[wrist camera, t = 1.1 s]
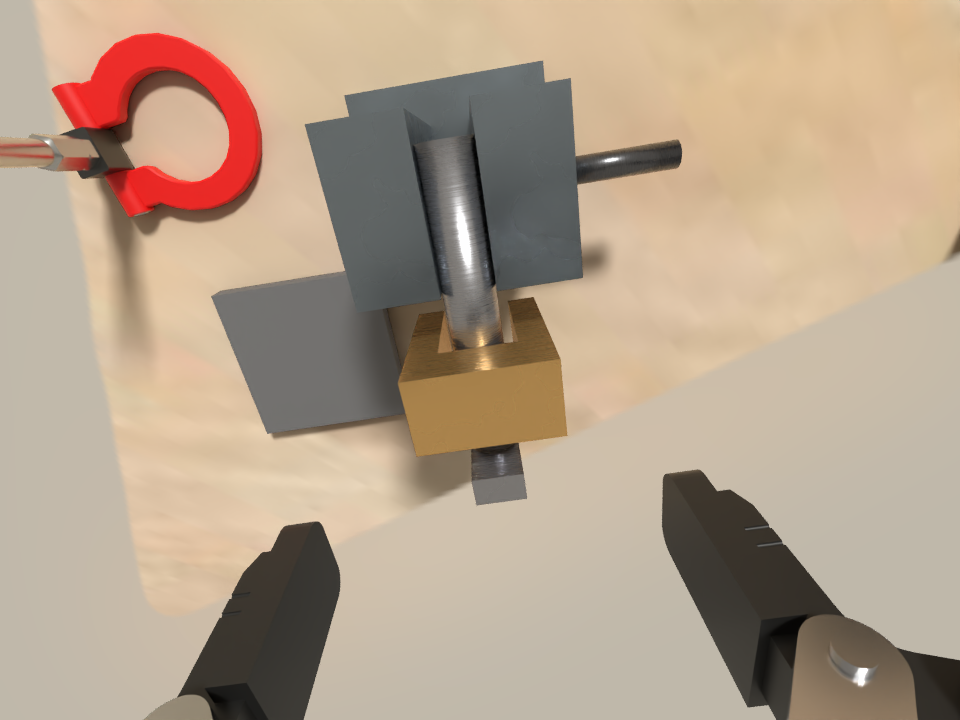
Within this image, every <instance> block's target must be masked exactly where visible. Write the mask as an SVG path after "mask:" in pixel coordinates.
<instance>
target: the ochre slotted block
mask: <svg viewBox="0 0 960 720" xmlns="http://www.w3.org/2000/svg"><path fill="white" fill-rule="evenodd" d="M508 306H509V314H510V321H511V329H512V336H513V342H511V343H504V344H498V345H491V346H484V347H478V348H471V349H464V350H457V351H452V348H451V343H450V337H449V332H448V327H447V322H446V317H445V312H444V311H440V312H433V313H426V314H420V315H419V317H418V320H417V323H416V326H415V329H414V333H413V336H412V339H411V342H410V346H409V349H408V352H407V355H406V358H405V362H404V365H403V368H402V371H401V374H400V378H399V381H398V386H399V390H400V394H401V397H402V401H403V405H404V409H405V413H406V417H407V421H408V425H409V429H410V433H411V436H412V440H413V444H414V448H415V452H416V456H417V457H418V456H425V455H433V454H440V453H447V452H454V451H461V450H469V449H476V448H483V447H490V446H497V445H504V444H512V443H519V442H526V441H533V440H540V439H548V438H555V437H562V436H567V427H566V416H565V405H564V393H563V382H562V371H561V359H560V357H559V355H558V352H557V350H556V348H555V345H554V343H553V341H552V339H551V336H550V334H549V332H548V329H547V327H546V325H545V322H544V320H543V318H542V316H541V313H540V311H539V309H538V306H537V304H536V302H535V300H534V297H531V298H524V299H518V300H511V301H508Z"/></svg>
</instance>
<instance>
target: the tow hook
mask: <svg viewBox="0 0 960 720" xmlns="http://www.w3.org/2000/svg"><path fill="white" fill-rule="evenodd" d="M166 70H173V71H177V72H182V73H184V74H186V75H188V76H190V77H192V78H194V79H195V80H197V81H198V82H199V83H200V84H202V85H203V86H204V87H205V88H207V90H208V91H209V92H210V93H211V94H212V96H213V97H214V98H215V99H216V101H217V102H218V104H219V106H220V108H221V109H222V111H223V113H224V115H225V118H226V122H227V125H228V129H229V149H228V153H227V157H226V159H225V161H224V163H223V164H222V166H221V168H220V169H219V170H218V171H217V172H216V173H214V174H213V175H212V176H211V177H209V178H206V179H204V180H201V181H197V182H189V181H184V180H178V179H176V178H174V177H171V176H169V175H167V174H165V173H163V172H162V171H160V170H159V169H158V168H156V167H153V166H142V167H139V168H136V169H134V168H133V166H132V164H131V162H130V160H129V159H128V157H127V155H126V153H125V152H124V150H123V148H122V146H121V145H120V143H119V141H118V140H117V138H116V136H115V134H114V133H113V131H112V130H110V129H108V128H110V127H113V126H116V125H119V124H121V123H124V122H126V120H127V118H128V114H127V108H128V102H129V97H130V95H131V93H132V91H133V89H134V87H135V85H136V84H137V83H138V82H139V81H140V80H141V79H143V78H144V77H145V76H147V75H149V74H152V73H154V72H156V71H166ZM52 91H53V93H54V95H55V96H56V98H57V99H58V101H59V103H60V104H61V106H62V108H63V109H64V111H65V113H66V114H67V116H68V118H69V119H70V121H71V123H72V124H73V126H74V128H75V129H74V130H71V131H69V132H66V133H63V134H60V135H47V134H31V135H30V136H29V137H28V138H11V137H10V138H9V137H0V168H22V167H38V168H41V169H46V170H50V171H77V172H78V173H79V175H80V177H81V178H82V179H89V178H105V179H106V180H107V182H108V184H109V185H110V187H111V189H112V190H113V192H114V194H115V195H116V197H117V199H118V200H119V202H120V204H121V205H122V207H123V208H124V210H125V212H126V213H127V215H128V217H137V216H141V215H144V214H147V213H150V212H151V211H153V210H155V208H154V207H153V206H155V205H158V204H161V203H163V204H165V205H168V206H170V207H175V208H180V209H186V210H202V209H212V208H216V207H219V206H221V205H224V204H226V203H229V202H231V201H233V200H234V199H236V198H237V197H238V196H239V195H241V194H242V193H243V192H244V191H245V190H247V188H248V187H249V185H250V183H251V182H252V180H253V179H254V177H255V175H256V174H257V170H258V167H259V163H260V159H261V156H262V133H261V129H260V125H259V120H258V116H257V112H256V109H255V107H254V105H253V103H252V101H251V99H250V97H249V95H248V93H247V91H246V89H245V88H244V86H243V85H242V84H241V83H240V81H239V80H238V79H237V77H236V76H235V75H234V74H233V72H232V71H231V70H230V69H229V68H228V67H227V66H226V65H225V64H223V63H222V62H221V61H220V60H219V59H217V58H216V57H215V56H214V55H212V54H211V53H210V52H208V51H206V50H204V49H202V48H200V47H198V46H196V45H194V44H192V43H190V42H188V41H186V40H184V39H182V38H178V37H173V36H169V35H164V34H160V33H152V34H139V35H133V36H131V37H129V38H127V39H124V40H122V41H120V42H117V43H115V44H114V45H113V46H112V47H111V48H110V49H109V50H108V51H107V52H106V53H105V54H104V55H103V56H102V57H101V58H100V60H99V62H98V64H97V66H96V68H95V70H94V73H93V75H92V77H91V80H90V81H87V82H84V83H82V84H81V83H65V84H61V85H58V86H55V87H54V88H52ZM133 169H134V170H133Z"/></svg>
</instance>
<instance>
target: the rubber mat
mask: <svg viewBox="0 0 960 720" xmlns="http://www.w3.org/2000/svg"><path fill="white" fill-rule="evenodd" d="M211 297H212V299H213V302H214V304H215V307H216V309H217V312H218V314H219V316H220V319H221V321H222V324H223V326H224V329H225V331H226V334H227V336H228V338H229V341H230V343H231V346H232V348H233V351H234V353H235V356H236V358H237V360H238V363H239V365H240V368H241V370H242V373H243V375H244V378H245V380H246V382H247V385H248V387H249V390H250V392H251V395H252V397H253V400H254V402H255V404H256V407H257V409H258V412H259V414H260V417H261V419H262V422H263V424H264V426H265V429H266V431H267V434H269V433H276V432H283V431H290V430H296V429H303V428H310V427H317V426H324V425H331V424H338V423H345V422H352V421H359V420H365V419H372V418H379V417H386V416H393V415H400V414H406V413H405V409H404V405H403V401H402V397H401V394H400V390H399V386H398V381H399V378H400V374H401V371H402V368H401V364H400V360H399V356H398V352H397V348H396V344H395V340H394V336H393V332H392V328H391V324H390V320H389V316H388V312H387V308H385V309H378V310H372V311H365V312H359V313H357V311H356V307H355V304H354V300H353V296H352V293H351V289H350V286H349V282H348V278H347V275H346V271H343V272H337V273H331V274H324V275H318V276H312V277H306V278H299V279H293V280H287V281H280V282H274V283H268V284H262V285H255V286H249V287H243V288H237V289H230V290H224V291H220V292H218V293H216V294H215V295H213V296H211Z"/></svg>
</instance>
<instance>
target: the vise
mask: <svg viewBox="0 0 960 720" xmlns="http://www.w3.org/2000/svg"><path fill="white" fill-rule="evenodd" d="M345 100H346V104H347V108H348V113H349V117H345V118H339V119H333V120H328V121H322V122H316V123H310V124H305V127H306V131H307V134H308V138H309V141H310V145H311V149H312V152H313V156H314V159H315V163H316V167H317V170H318V174H319V178H320V181H321V185H322V188H323V192H324V196H325V199H326V203H327V206H328V210H329V214H330V217H331V221H332V224H333V228H334V232H335V235H336V239H337V242H338V246H339V250H340V253H341V257H342V260H343V264H344V268H345V271H346V275H347V278H348V282H349V286H350V289H351V293H352V296H353V300H354V304H355V307H356V311H357V313H359V312H365V311H372V310H378V309H385V308H391V307H398V306H404V305H411V304H417V303H423V302H430V301H436V300H441V295H443V300H444V305H445V310H446V315H447V320H448V326H449V331H450V336H451V341H452V346H453V351H457V350H464V349H471V348H478V347H484V346H491V345H498V344H504V339H503V332H502V325H501V318H500V311H499V304H498V297H497V291H501V290H507V289H514V288H520V287H527V286H533V285H539V284H546V283H552V282H559V281H565V280H572V279H578V278H583V271H582V255H581V239H580V223H579V206H578V190H577V185H578V184H584V183H590V182H596V181H602V180H609V179H615V178H621V177H627V176H633V175H639V174H645V173H651V172H657V171H663V170H670V169H676V168H678V167H679V165H680V163H681V158H682V148H681V144H680V142H679V141H678V140H672V141H666V142H660V143H654V144H648V145H642V146H636V147H630V148H624V149H618V150H612V151H606V152H600V153H594V154H588V155H582V156H576V157H575V141H574V125H573V109H572V93H571V78H569V79H563V80H558V81H552V82H546V83H545V81H544V68H543V61H538V62H532V63H527V64H521V65H515V66H510V67H504V68H498V69H493V70H487V71H481V72H475V73H470V74H464V75H458V76H453V77H447V78H441V79H436V80H430V81H424V82H419V83H413V84H407V85H402V86H396V87H390V88H385V89H379V90H373V91H367V92H362V93H356V94H350V95H345ZM496 288H497V290H496ZM471 457H472V485H473V490H474V495H475V500H476V504H477V505H482V504H489V503H498V502H505V501H512V500H519V499H527V494H526V487H525V480H524V473H523V467H522V461H521V455H520V449H519V443H512V444H504V445H497V446H490V447H483V448H476V449H471Z"/></svg>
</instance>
